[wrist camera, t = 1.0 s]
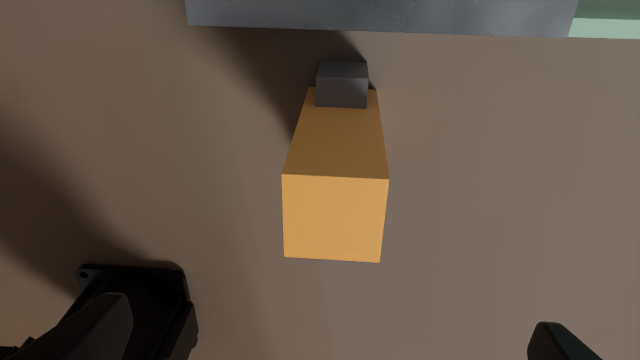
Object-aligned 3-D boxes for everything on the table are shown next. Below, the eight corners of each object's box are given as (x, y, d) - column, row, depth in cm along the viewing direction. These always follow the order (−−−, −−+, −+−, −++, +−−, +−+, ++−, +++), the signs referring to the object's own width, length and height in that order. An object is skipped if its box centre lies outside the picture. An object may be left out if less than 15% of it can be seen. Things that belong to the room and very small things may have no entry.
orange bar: (308, 169, 21) (285, 284, 14) (308, 59, 18) (280, 134, 11) (368, 172, 20) (376, 290, 14) (378, 62, 18) (394, 139, 11)
